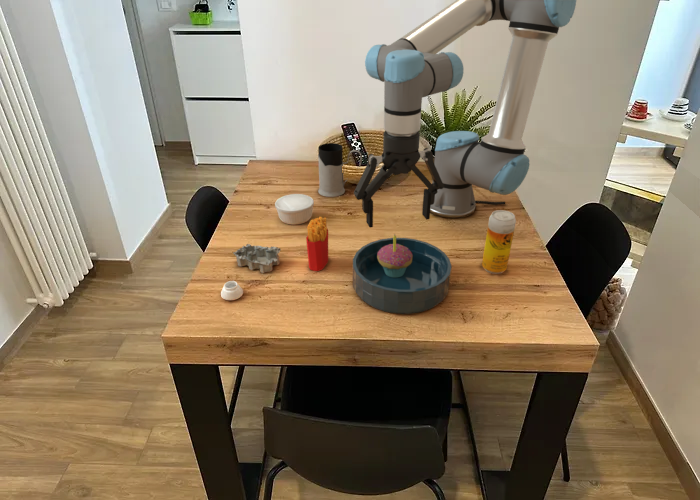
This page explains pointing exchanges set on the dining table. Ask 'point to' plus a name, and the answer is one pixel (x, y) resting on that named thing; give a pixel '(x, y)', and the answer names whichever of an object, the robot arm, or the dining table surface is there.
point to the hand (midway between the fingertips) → (397, 220)
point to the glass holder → (331, 169)
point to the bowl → (402, 278)
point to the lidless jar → (231, 291)
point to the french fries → (317, 244)
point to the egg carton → (258, 257)
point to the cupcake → (394, 259)
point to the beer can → (498, 241)
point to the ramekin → (294, 208)
